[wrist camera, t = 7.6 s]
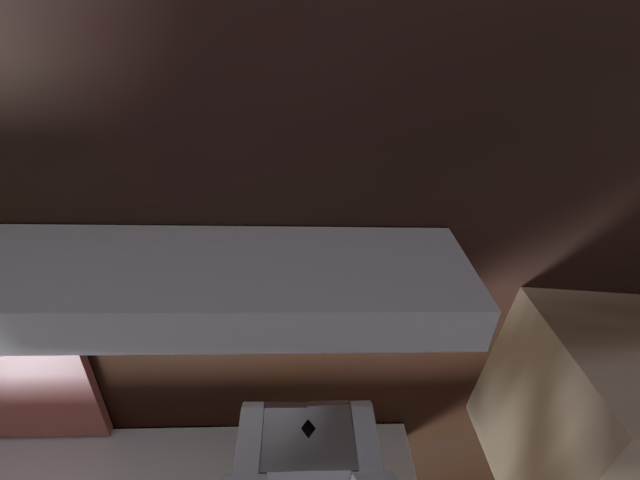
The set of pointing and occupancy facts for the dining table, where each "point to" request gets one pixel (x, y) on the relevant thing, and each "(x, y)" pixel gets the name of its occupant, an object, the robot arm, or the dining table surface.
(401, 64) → the dining table surface
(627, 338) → the block
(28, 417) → the white u-shaped frame
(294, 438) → the robot arm
